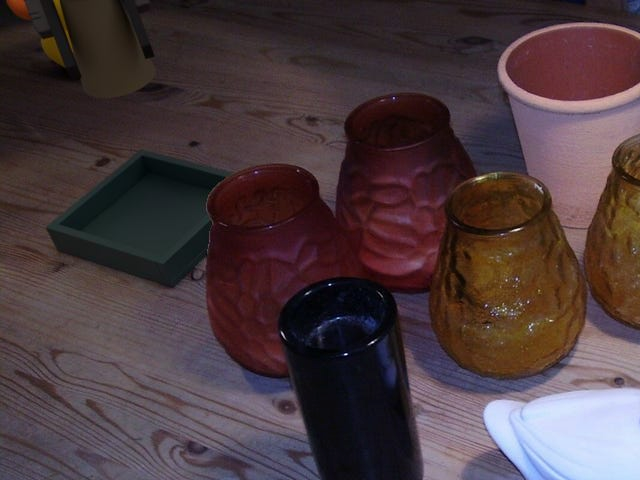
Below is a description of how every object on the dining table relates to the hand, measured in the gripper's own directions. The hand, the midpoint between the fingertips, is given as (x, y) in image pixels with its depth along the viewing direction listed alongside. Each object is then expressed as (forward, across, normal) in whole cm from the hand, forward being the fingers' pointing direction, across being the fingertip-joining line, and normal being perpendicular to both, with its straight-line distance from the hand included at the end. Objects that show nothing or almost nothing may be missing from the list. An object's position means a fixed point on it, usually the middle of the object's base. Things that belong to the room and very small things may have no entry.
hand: (111, 61), depth 78 cm
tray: (+11, -1, +12) cm, 16 cm away
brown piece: (0, 0, +5) cm, 5 cm away
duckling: (-13, -4, +36) cm, 39 cm away
